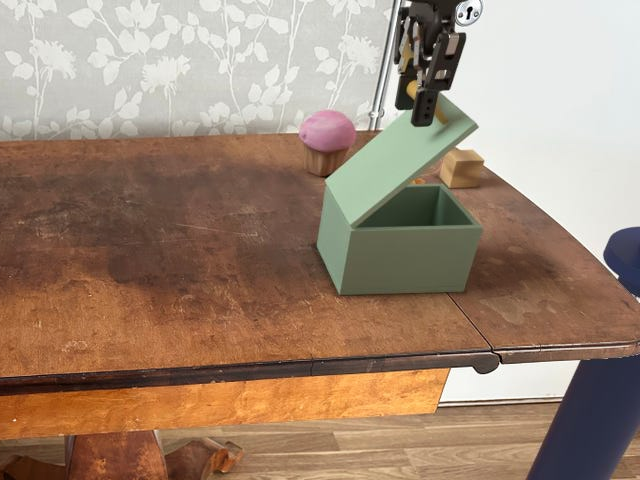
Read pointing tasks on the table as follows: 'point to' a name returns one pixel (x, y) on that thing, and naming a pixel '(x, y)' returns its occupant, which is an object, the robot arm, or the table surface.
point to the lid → (396, 158)
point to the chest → (401, 244)
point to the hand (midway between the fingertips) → (412, 116)
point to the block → (461, 168)
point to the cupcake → (326, 141)
